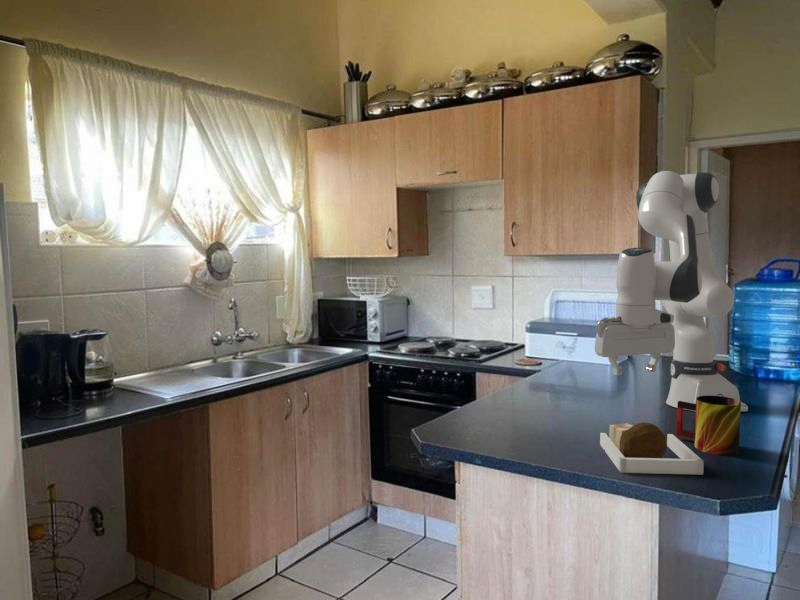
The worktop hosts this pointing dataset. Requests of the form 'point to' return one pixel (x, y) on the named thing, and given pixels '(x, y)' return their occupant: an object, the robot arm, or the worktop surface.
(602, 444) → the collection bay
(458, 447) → the worktop surface
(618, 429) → the beech block
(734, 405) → the mug
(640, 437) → the potato
